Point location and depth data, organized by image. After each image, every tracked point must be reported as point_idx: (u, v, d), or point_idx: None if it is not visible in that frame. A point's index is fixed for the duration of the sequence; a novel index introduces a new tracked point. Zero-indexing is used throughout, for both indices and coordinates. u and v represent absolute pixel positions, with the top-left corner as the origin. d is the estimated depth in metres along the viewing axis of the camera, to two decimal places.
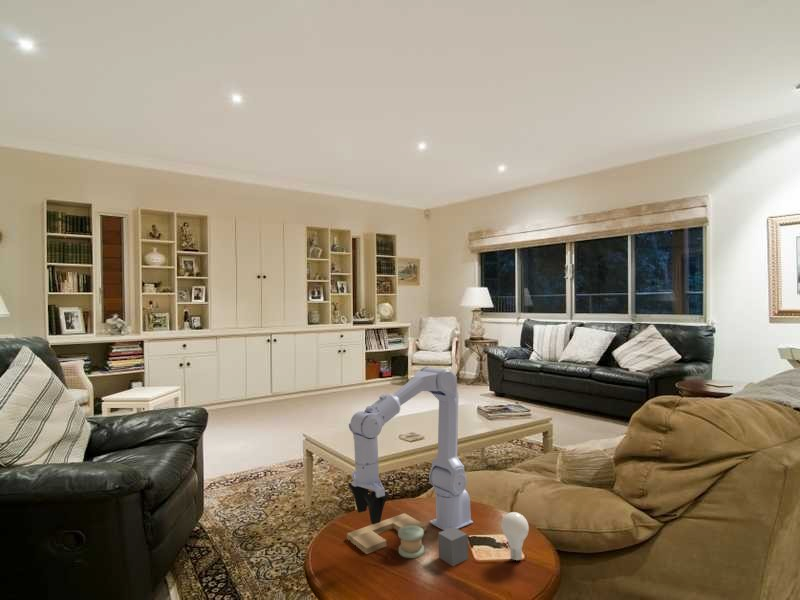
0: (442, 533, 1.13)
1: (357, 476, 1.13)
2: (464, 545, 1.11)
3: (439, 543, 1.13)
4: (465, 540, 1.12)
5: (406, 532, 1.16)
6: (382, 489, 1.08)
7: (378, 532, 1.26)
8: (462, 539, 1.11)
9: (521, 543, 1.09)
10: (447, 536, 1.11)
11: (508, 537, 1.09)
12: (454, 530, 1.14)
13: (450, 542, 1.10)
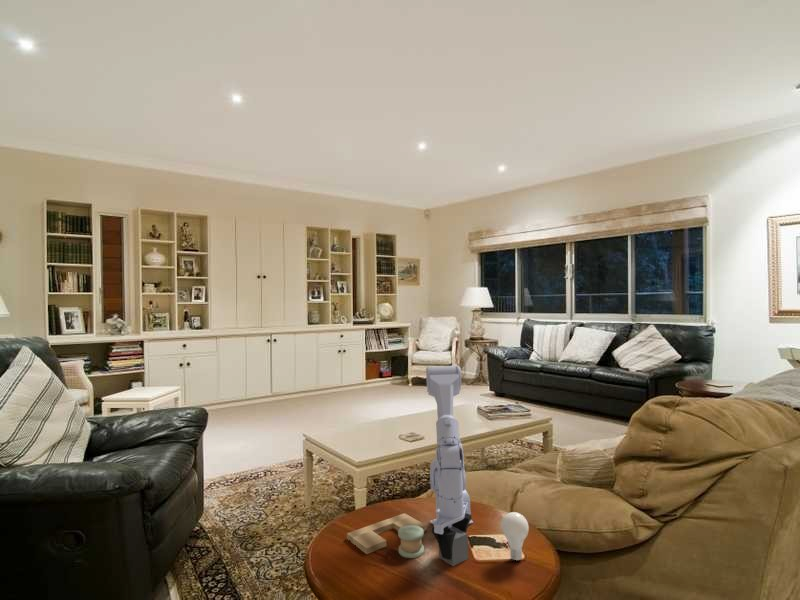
0: None
1: None
2: (464, 545, 1.11)
3: None
4: (465, 540, 1.12)
5: (406, 532, 1.16)
6: (439, 527, 1.06)
7: (378, 532, 1.26)
8: (462, 539, 1.11)
9: (521, 543, 1.09)
10: None
11: (508, 537, 1.09)
12: (454, 530, 1.14)
13: None
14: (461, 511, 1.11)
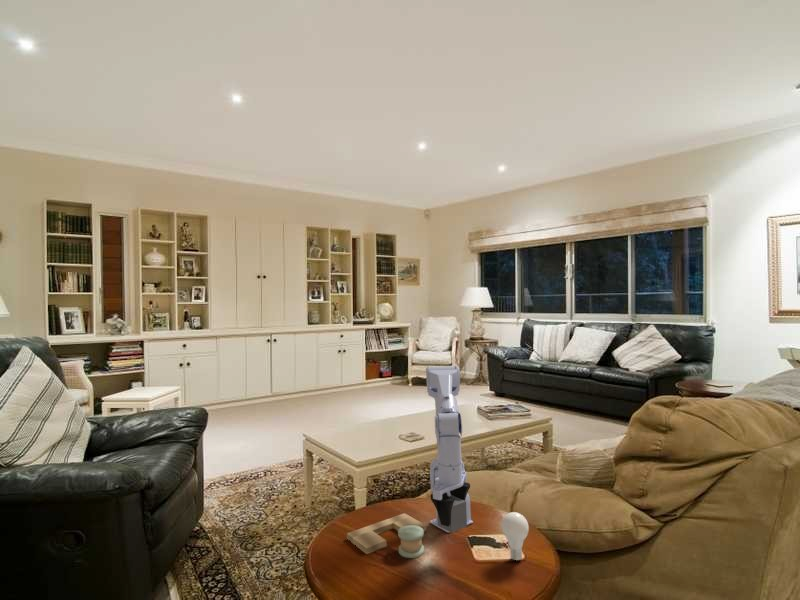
0: None
1: None
2: (463, 512, 1.12)
3: None
4: (464, 507, 1.12)
5: (406, 532, 1.16)
6: (437, 492, 1.07)
7: (378, 532, 1.26)
8: (460, 506, 1.11)
9: (521, 543, 1.09)
10: None
11: (508, 537, 1.09)
12: None
13: None
14: (460, 478, 1.11)
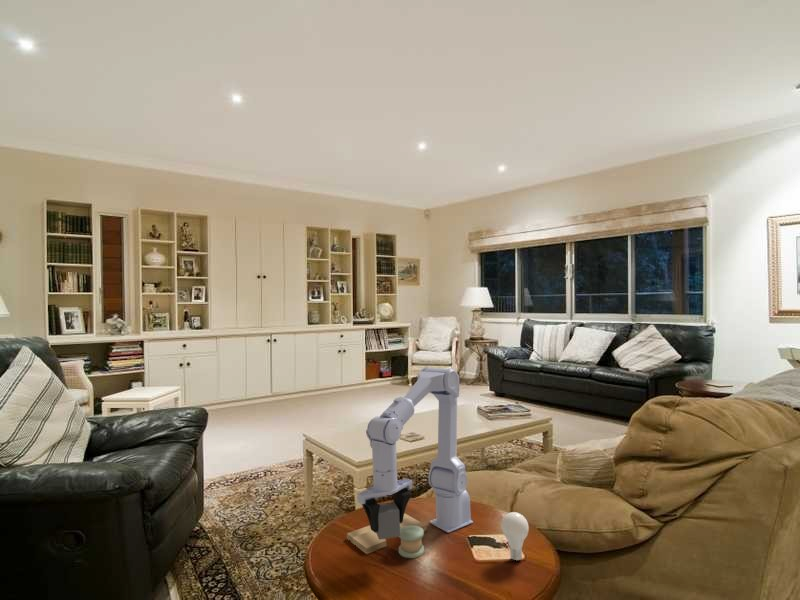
0: None
1: None
2: (395, 521, 1.08)
3: None
4: (396, 516, 1.08)
5: (406, 532, 1.16)
6: (360, 496, 1.06)
7: None
8: (392, 515, 1.08)
9: (521, 543, 1.09)
10: (379, 509, 1.10)
11: (508, 537, 1.09)
12: (391, 505, 1.11)
13: None
14: (390, 486, 1.08)
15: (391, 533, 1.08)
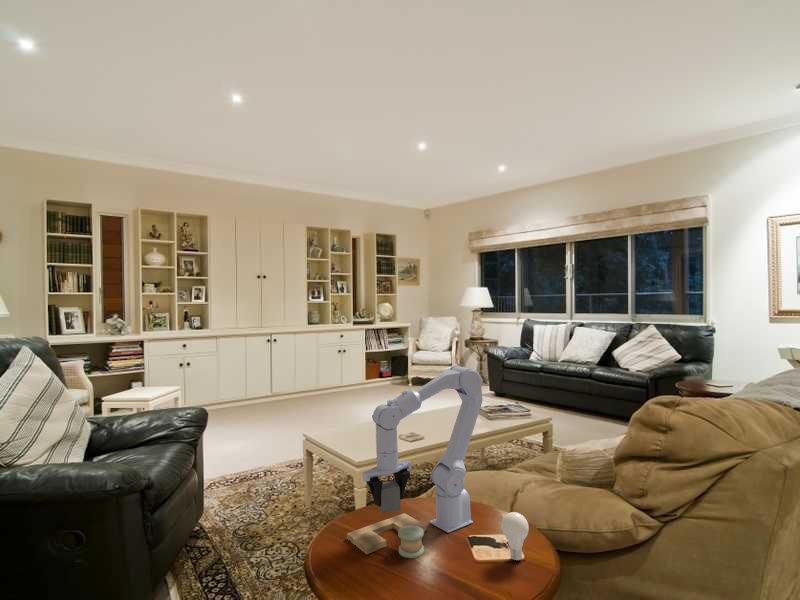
0: None
1: None
2: (396, 496, 1.22)
3: None
4: (397, 492, 1.22)
5: (406, 532, 1.16)
6: (365, 474, 1.20)
7: (378, 532, 1.26)
8: (393, 491, 1.22)
9: (521, 543, 1.09)
10: (382, 486, 1.24)
11: (508, 537, 1.09)
12: (392, 483, 1.26)
13: None
14: (392, 465, 1.22)
15: (392, 507, 1.22)
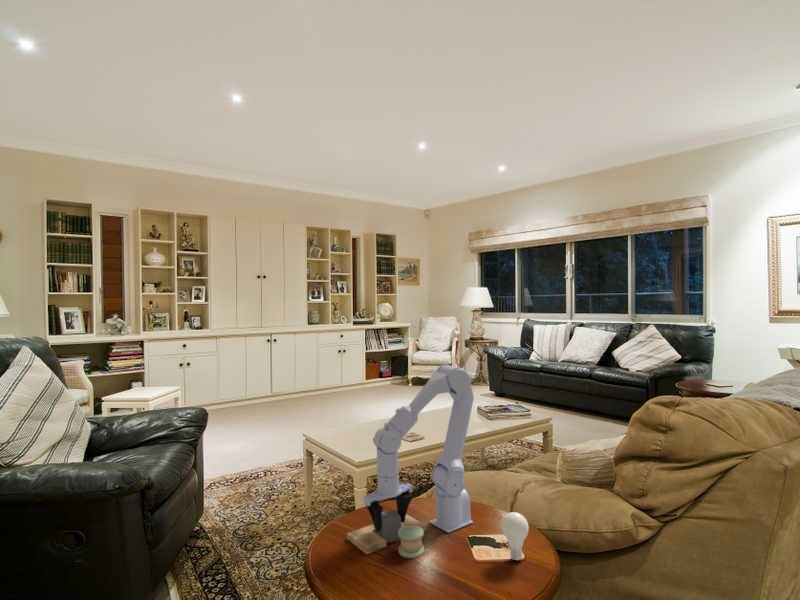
0: None
1: None
2: (397, 527, 1.22)
3: None
4: (398, 522, 1.22)
5: (406, 532, 1.16)
6: (366, 499, 1.20)
7: (378, 532, 1.26)
8: (394, 521, 1.22)
9: (521, 543, 1.09)
10: (383, 516, 1.23)
11: (508, 537, 1.09)
12: (393, 512, 1.25)
13: (382, 521, 1.22)
14: (393, 489, 1.22)
15: (394, 537, 1.22)
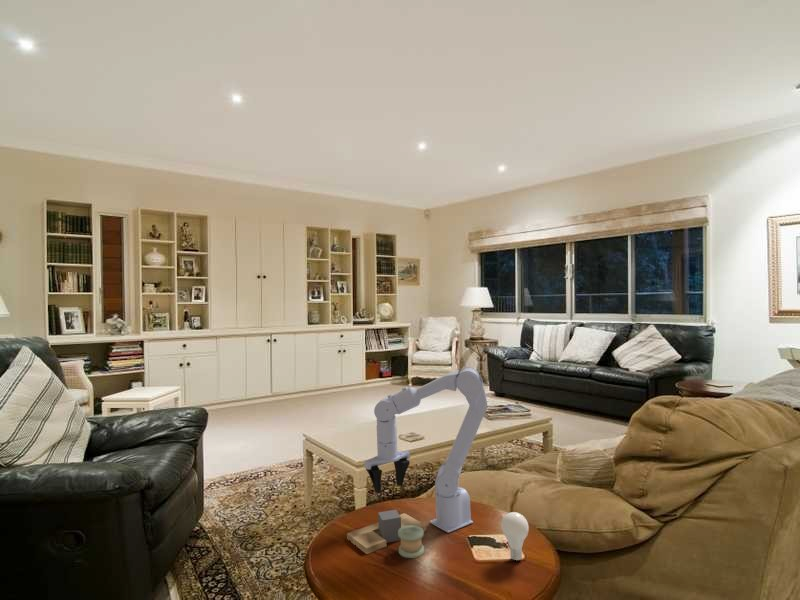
0: (381, 513, 1.25)
1: None
2: (397, 527, 1.22)
3: (378, 522, 1.25)
4: (398, 522, 1.22)
5: (406, 532, 1.16)
6: (366, 463, 1.29)
7: (378, 532, 1.26)
8: (394, 521, 1.22)
9: (521, 543, 1.09)
10: (383, 516, 1.23)
11: (508, 537, 1.09)
12: (393, 512, 1.25)
13: (382, 521, 1.22)
14: (391, 455, 1.31)
15: (394, 537, 1.22)
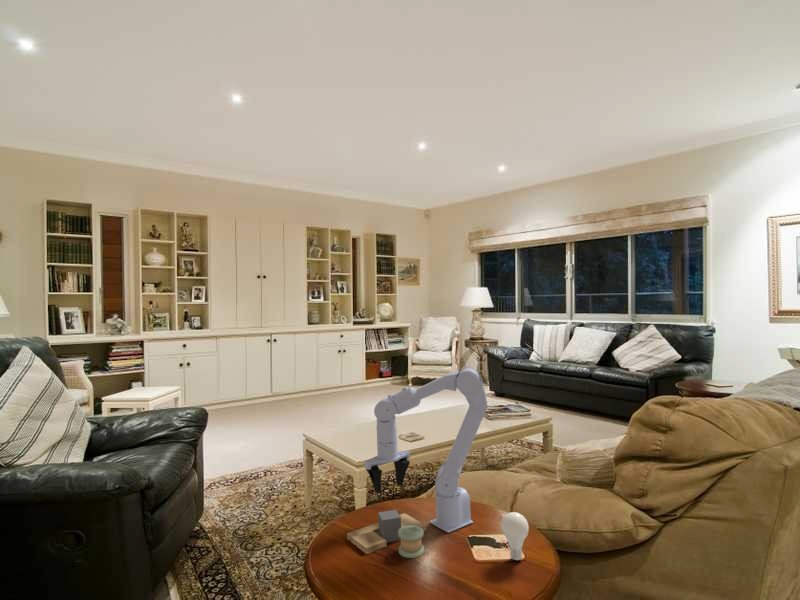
0: (381, 513, 1.25)
1: None
2: (397, 527, 1.22)
3: (378, 522, 1.25)
4: (398, 522, 1.22)
5: (406, 532, 1.16)
6: (366, 463, 1.29)
7: (378, 532, 1.26)
8: (394, 521, 1.22)
9: (521, 543, 1.09)
10: (383, 516, 1.23)
11: (508, 537, 1.09)
12: (393, 512, 1.25)
13: (382, 521, 1.22)
14: (391, 455, 1.31)
15: (394, 537, 1.22)
